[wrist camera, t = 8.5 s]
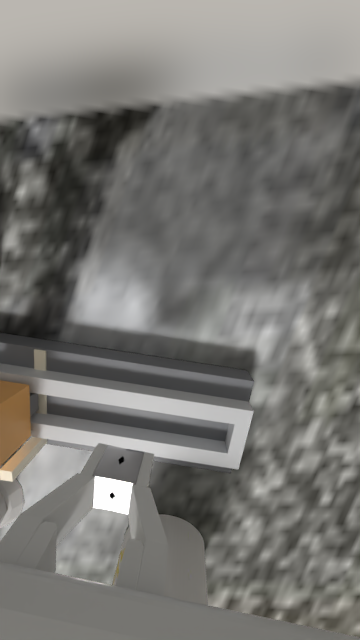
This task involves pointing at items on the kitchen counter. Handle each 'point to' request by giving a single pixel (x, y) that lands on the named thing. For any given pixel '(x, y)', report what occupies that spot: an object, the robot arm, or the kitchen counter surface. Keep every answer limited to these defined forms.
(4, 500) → the french press
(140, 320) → the kitchen counter surface
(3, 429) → the fader
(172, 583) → the light grey cylinder
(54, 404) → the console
